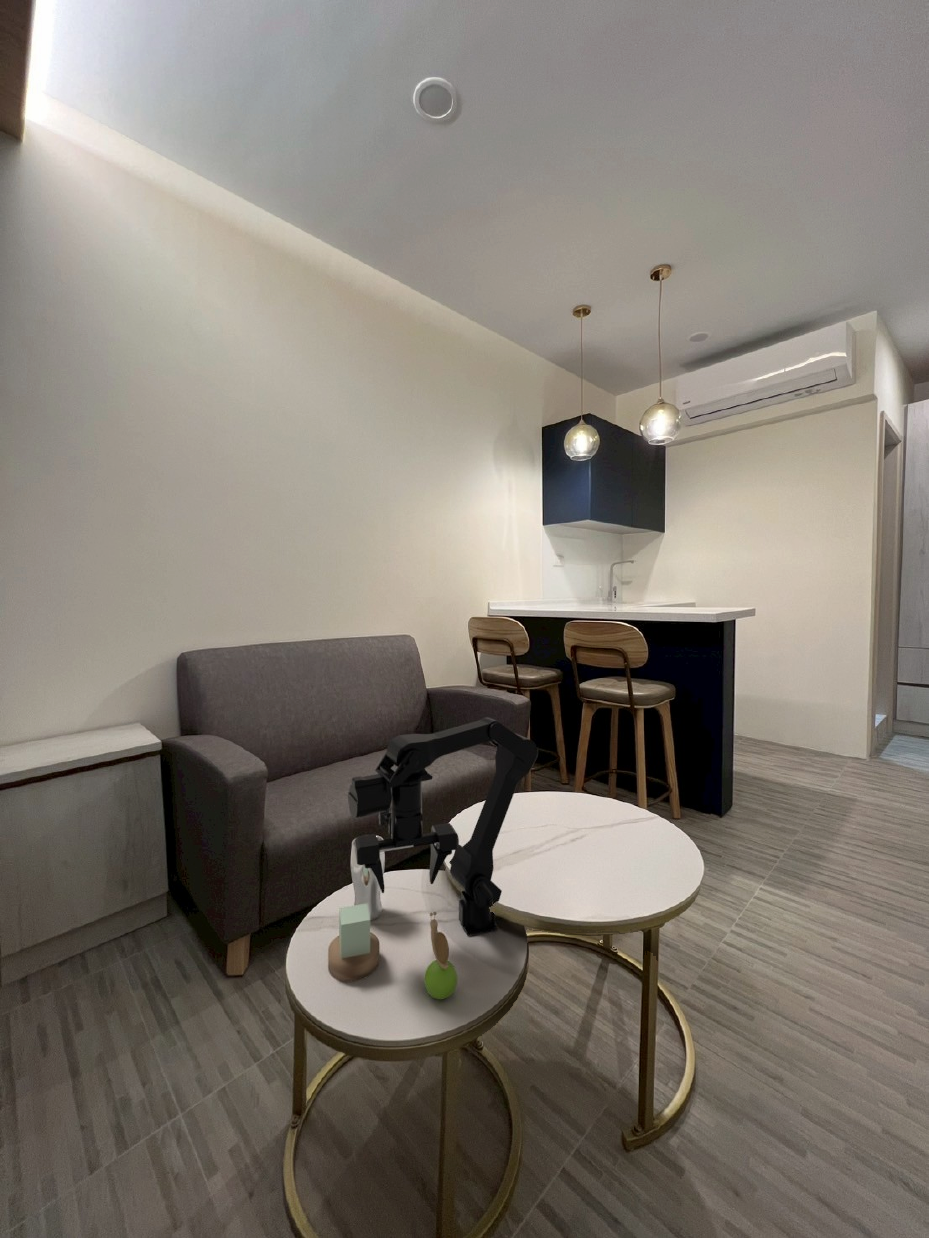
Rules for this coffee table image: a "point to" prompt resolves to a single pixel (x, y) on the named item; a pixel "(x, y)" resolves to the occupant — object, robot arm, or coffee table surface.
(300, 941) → the coffee table surface
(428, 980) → the snail figurine
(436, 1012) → the coffee table surface
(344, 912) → the sage block
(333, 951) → the walnut base
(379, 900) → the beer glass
